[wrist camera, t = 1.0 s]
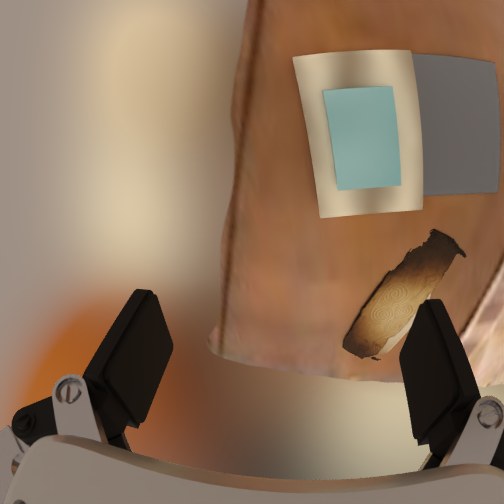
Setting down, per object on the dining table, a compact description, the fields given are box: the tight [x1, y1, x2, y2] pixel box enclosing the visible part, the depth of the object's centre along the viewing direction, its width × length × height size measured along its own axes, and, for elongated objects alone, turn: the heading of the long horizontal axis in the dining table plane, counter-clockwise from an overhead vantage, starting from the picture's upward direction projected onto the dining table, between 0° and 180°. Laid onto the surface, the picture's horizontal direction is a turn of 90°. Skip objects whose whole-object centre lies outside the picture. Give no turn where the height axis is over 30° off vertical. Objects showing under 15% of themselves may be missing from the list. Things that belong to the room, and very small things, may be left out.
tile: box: [322, 86, 401, 191], centre depth 23 cm, size 6×9×2 cm, turn 13°
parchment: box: [343, 229, 466, 361], centre depth 38 cm, size 25×10×1 cm, turn 162°
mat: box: [411, 54, 501, 196], centre depth 24 cm, size 12×16×1 cm
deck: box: [292, 50, 423, 218], centre depth 26 cm, size 11×16×4 cm
